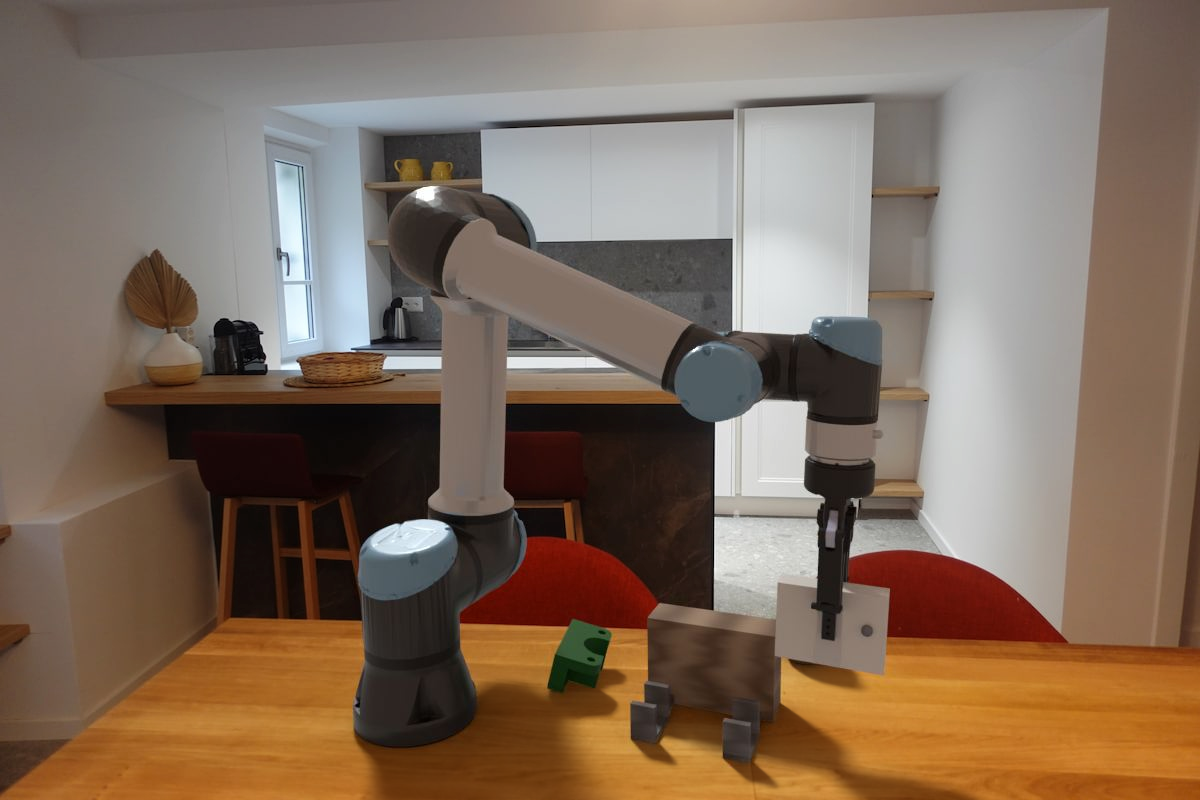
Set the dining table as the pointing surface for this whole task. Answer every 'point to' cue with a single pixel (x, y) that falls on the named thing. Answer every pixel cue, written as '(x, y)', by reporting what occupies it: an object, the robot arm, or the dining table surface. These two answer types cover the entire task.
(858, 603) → the door
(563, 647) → the clamp
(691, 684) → the cabinet
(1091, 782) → the dining table surface
